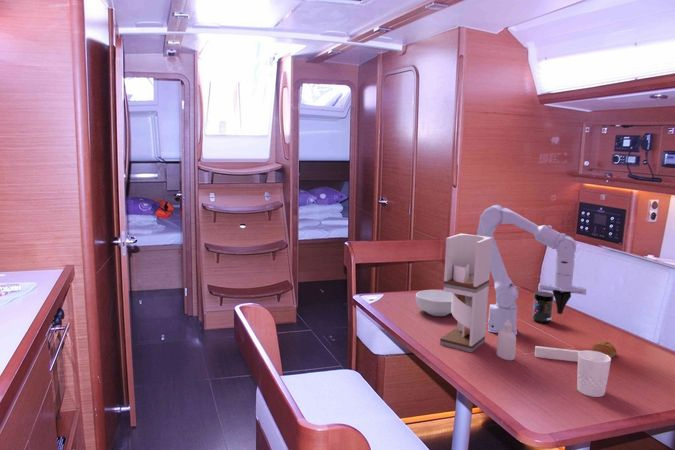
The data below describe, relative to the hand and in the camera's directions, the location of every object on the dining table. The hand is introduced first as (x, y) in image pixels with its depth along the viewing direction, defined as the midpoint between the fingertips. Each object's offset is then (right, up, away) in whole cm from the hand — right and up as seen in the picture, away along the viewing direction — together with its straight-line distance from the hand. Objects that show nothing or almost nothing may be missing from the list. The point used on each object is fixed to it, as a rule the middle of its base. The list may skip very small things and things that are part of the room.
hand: (559, 312), depth 181 cm
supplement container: (+2, -6, +20) cm, 21 cm away
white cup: (-6, -15, -36) cm, 40 cm away
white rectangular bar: (-6, -12, -15) cm, 20 cm away
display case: (-33, -9, -4) cm, 35 cm away
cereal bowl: (-36, -4, +26) cm, 45 cm away
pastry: (+9, -12, -11) cm, 18 cm away
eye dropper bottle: (-23, -11, -15) cm, 29 cm away
